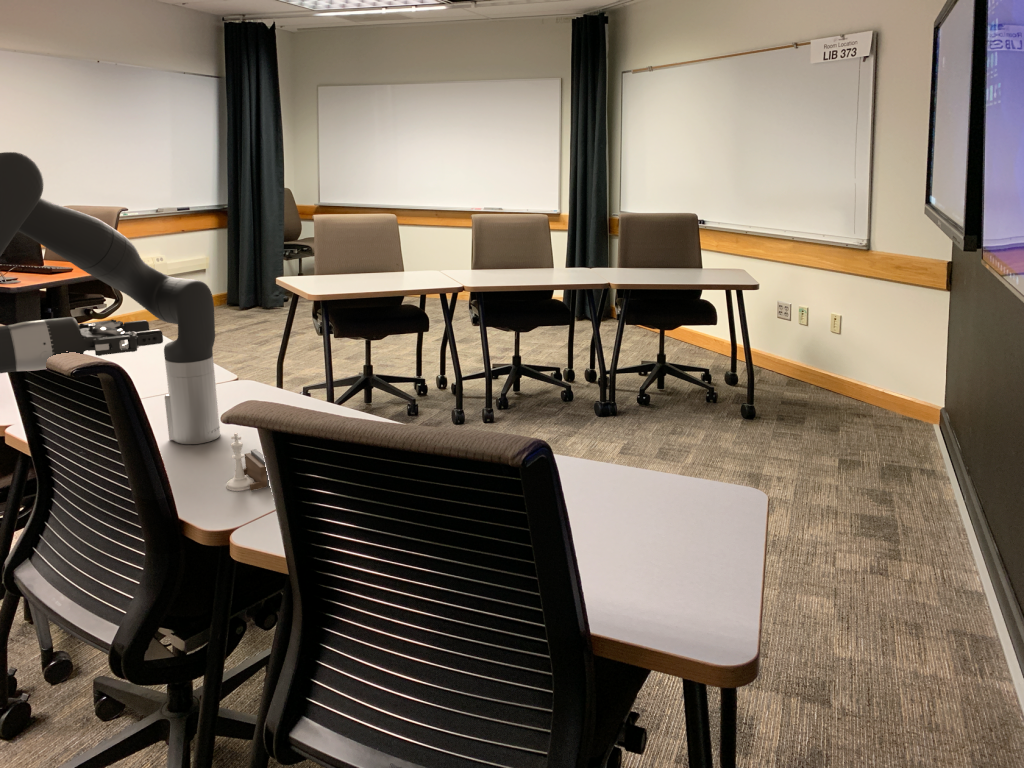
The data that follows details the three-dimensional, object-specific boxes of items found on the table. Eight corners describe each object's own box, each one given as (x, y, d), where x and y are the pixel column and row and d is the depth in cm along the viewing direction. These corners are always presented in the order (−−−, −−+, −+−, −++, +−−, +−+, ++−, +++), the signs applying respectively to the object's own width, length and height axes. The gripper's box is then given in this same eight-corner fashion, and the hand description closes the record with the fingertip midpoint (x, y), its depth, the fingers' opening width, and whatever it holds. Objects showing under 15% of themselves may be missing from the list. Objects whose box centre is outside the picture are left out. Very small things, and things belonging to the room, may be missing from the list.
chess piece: (246, 492, 156) (241, 439, 153) (221, 489, 157) (215, 436, 154) (259, 481, 161) (255, 429, 158) (235, 479, 162) (230, 427, 159)
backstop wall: (266, 487, 158) (264, 461, 157) (252, 475, 163) (250, 450, 162) (271, 486, 159) (269, 460, 157) (257, 474, 164) (255, 449, 163)
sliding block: (251, 490, 156) (249, 469, 155) (235, 476, 162) (233, 456, 161) (267, 487, 157) (265, 466, 156) (251, 472, 164) (249, 452, 163)
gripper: (49, 328, 128) (164, 316, 137) (34, 312, 140) (141, 301, 149) (57, 378, 130) (169, 362, 140) (41, 358, 142) (146, 344, 151)
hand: (155, 331), depth 144 cm, fingers open, 8 cm apart
